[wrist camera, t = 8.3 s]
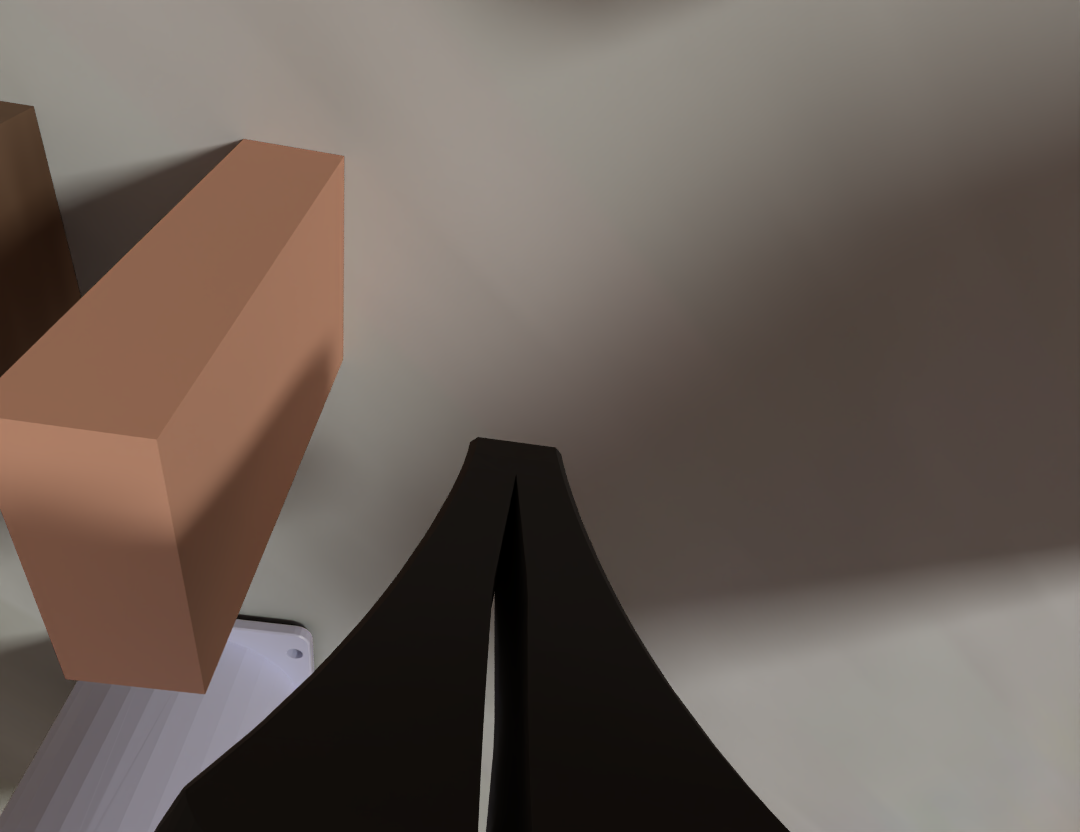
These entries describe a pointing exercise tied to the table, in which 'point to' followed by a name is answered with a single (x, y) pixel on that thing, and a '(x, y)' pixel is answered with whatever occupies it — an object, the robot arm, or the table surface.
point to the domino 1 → (29, 239)
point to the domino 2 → (176, 419)
